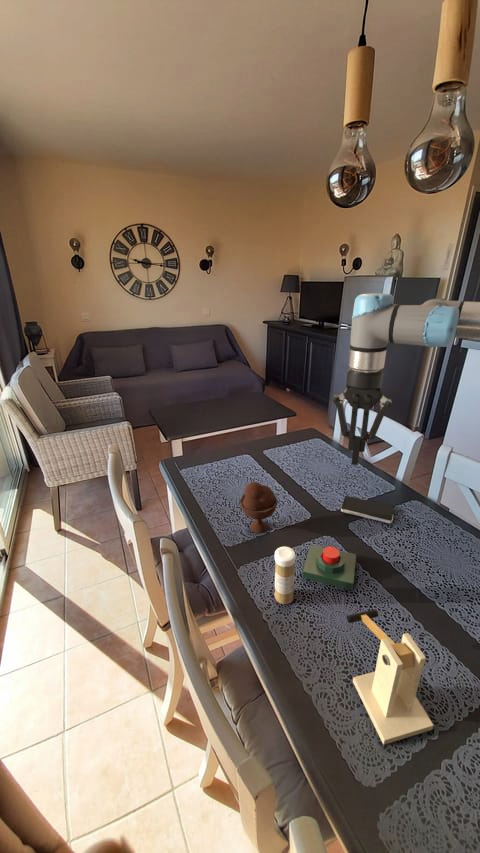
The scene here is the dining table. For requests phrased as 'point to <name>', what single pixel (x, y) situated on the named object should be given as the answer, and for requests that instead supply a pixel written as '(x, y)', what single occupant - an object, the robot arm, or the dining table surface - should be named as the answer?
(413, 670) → the wooden lever stand
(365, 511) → the smartphone
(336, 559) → the button
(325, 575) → the off panel
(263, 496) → the ice cream bowl
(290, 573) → the sprinkles bottle
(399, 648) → the lever
